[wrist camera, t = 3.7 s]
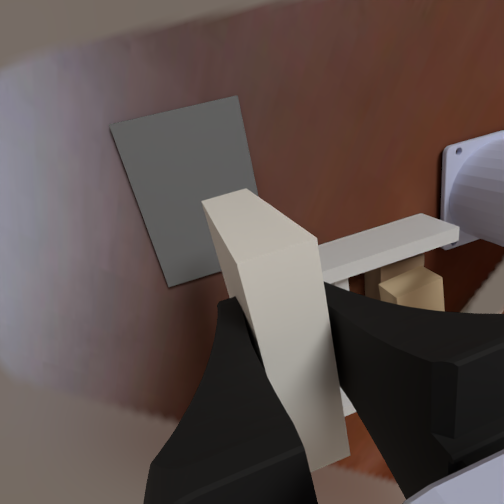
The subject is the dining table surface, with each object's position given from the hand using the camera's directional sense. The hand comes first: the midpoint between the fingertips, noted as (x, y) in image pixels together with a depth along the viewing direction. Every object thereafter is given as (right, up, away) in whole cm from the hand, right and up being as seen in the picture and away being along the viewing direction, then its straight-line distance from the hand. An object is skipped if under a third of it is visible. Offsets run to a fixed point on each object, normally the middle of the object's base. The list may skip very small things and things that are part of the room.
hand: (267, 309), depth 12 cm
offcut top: (+11, -2, +13) cm, 17 cm away
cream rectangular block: (-1, +1, +4) cm, 4 cm away
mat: (-4, +5, +8) cm, 10 cm away
